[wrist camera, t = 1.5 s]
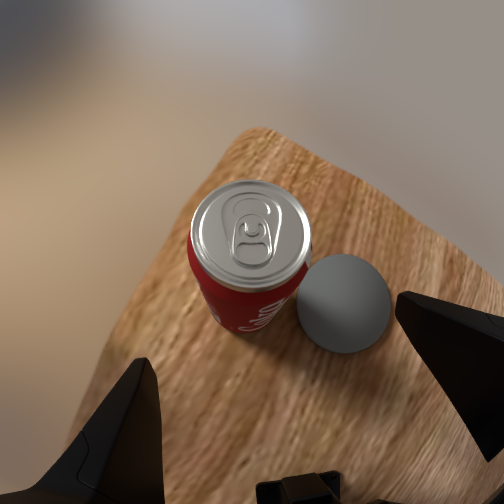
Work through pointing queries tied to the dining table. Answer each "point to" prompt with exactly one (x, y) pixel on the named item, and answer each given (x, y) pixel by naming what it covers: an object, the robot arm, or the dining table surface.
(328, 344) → the coaster
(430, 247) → the dining table surface
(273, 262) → the soda can
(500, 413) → the robot arm
